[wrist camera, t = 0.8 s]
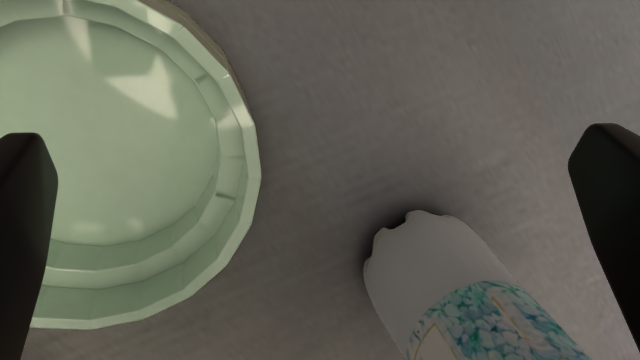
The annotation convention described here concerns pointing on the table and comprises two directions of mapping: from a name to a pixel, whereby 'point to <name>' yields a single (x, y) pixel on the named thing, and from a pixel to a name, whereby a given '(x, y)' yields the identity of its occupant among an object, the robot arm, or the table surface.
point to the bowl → (129, 152)
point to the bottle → (456, 297)
